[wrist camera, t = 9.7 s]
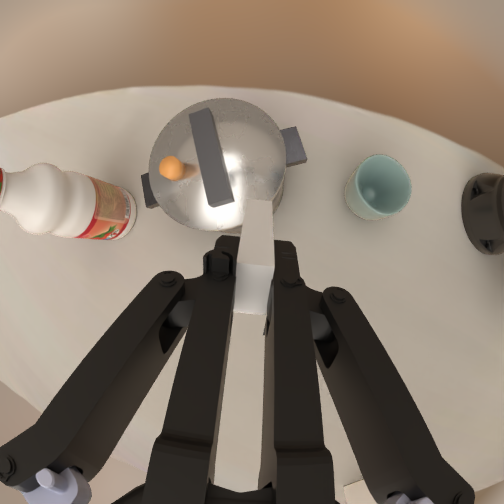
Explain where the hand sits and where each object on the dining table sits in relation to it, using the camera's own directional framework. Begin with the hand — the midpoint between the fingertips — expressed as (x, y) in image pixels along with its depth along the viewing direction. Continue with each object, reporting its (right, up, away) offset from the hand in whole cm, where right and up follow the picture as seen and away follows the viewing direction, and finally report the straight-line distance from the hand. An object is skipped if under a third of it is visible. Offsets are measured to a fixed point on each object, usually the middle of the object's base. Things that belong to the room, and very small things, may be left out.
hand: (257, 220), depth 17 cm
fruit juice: (-25, +5, +29) cm, 38 cm away
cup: (+17, +6, +23) cm, 30 cm away
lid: (-4, +8, +13) cm, 17 cm away
